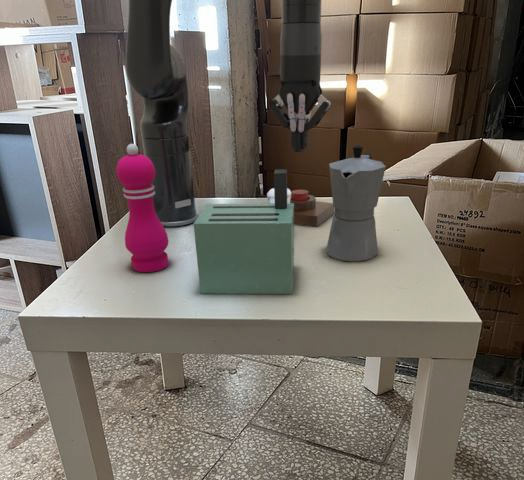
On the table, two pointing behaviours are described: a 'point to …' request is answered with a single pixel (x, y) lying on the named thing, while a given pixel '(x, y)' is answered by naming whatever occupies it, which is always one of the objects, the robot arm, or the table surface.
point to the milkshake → (272, 197)
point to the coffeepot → (354, 206)
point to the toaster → (245, 248)
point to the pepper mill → (142, 213)
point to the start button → (299, 195)
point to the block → (311, 211)
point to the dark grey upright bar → (280, 188)
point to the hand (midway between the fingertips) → (299, 151)
